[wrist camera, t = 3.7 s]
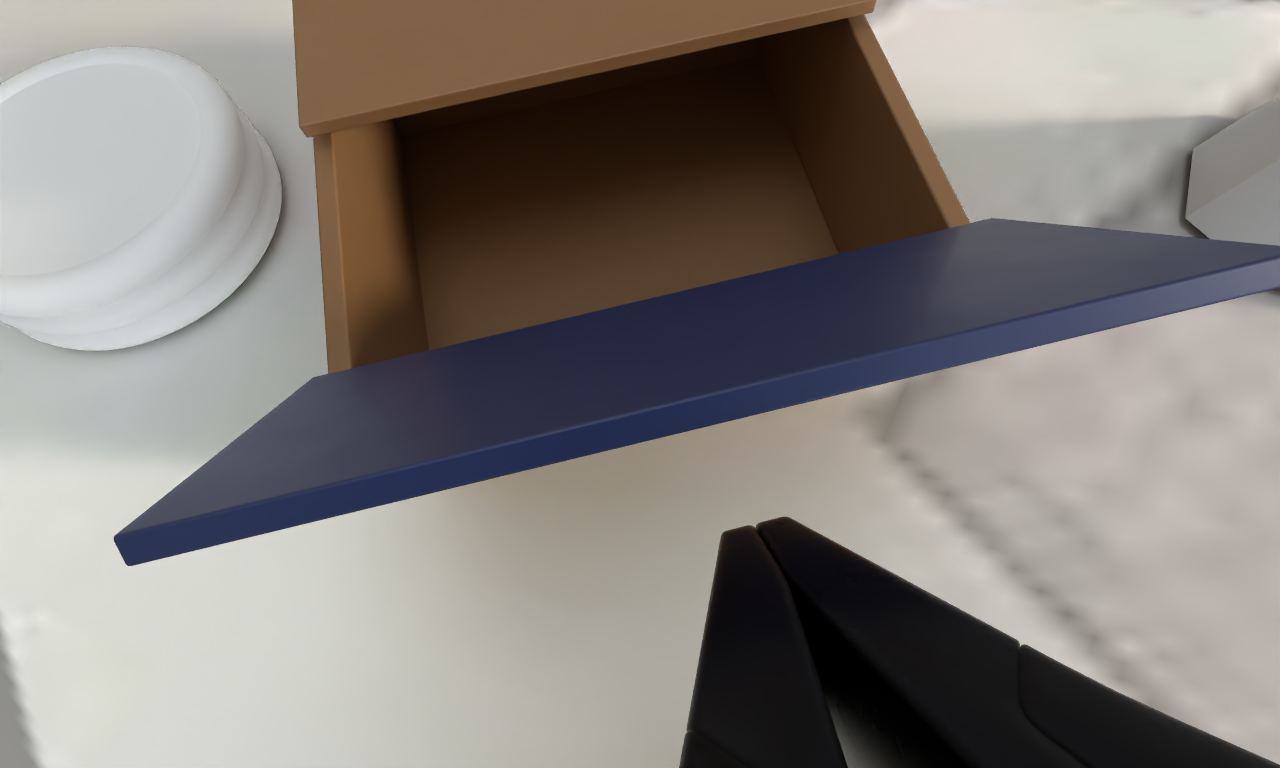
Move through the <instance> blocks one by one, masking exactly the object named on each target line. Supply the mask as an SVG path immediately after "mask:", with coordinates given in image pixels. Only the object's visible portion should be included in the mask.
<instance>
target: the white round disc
mask: <svg viewBox="0 0 1280 768" xmlns="http://www.w3.org/2000/svg"><path fill="white" fill-rule="evenodd" d="M281 203H282V185H281V179H280V174H279V170H278V167H277V164H276V162H275V159H274V156H273V153H272V151H271V149H270V148H269V146H268V144H267V143H266V141H265V139H264V138H263V137H262V136H261V135H260V134H259V132H258V131H257V130H256V129H255V128H254V127H253V126H252V125H251V123H250V121H249V120H248V118H247V116H246V115H245V114H244V113H243V112H242V111H241V109H240V108H239V107H238V106H237V105H236V104H234V103H233V101H232V99H231V98H230V96H229V94H228V92H227V91H226V90H225V89H224V87H223V86H222V85H221V84H220V83H219V82H218V80H216V79H215V78H214V77H213V76H211V75H210V74H209V73H207V72H206V71H205V70H203V69H202V68H201V67H199V66H198V65H197V64H195V63H193V62H191V61H189V60H187V59H185V58H184V57H181V56H178V55H176V54H173V53H170V52H167V51H162V50H157V49H153V48H143V47H103V48H94V49H88V50H83V51H78V52H73V53H70V54H66V55H63V56H60V57H56V58H53V59H51V60H48V61H46V62H43V63H40V64H38V65H35V66H33V67H31V68H29V69H27V70H25V71H23V72H20V73H19V74H17V75H15V76H13V77H11V78H10V79H8V80H6V81H4V82H3V83H1V84H0V321H1V322H3V323H5V324H7V325H10V326H13V327H16V328H17V329H19V330H20V331H21V332H23V333H24V334H26V335H28V336H30V337H32V338H34V339H36V340H38V341H40V342H44V343H47V344H50V345H54V346H58V347H63V348H70V349H77V350H88V351H104V350H113V349H122V348H126V347H131V346H135V345H140V344H143V343H146V342H149V341H152V340H155V339H158V338H161V337H163V336H166V335H168V334H170V333H172V332H175V331H177V330H179V329H181V328H183V327H185V326H187V325H188V324H190V323H192V322H194V321H196V320H197V319H199V318H200V317H202V316H203V315H205V314H206V313H208V312H209V311H211V310H212V309H214V308H215V307H216V306H218V305H219V304H220V303H221V302H222V301H224V300H225V299H226V298H227V297H229V296H230V295H231V294H232V293H233V292H234V291H235V290H236V289H237V288H238V287H239V286H240V285H241V284H242V283H243V282H244V281H245V279H246V278H247V277H248V276H249V274H250V273H251V272H252V271H253V269H254V268H255V267H256V266H257V264H258V262H259V261H260V259H261V258H262V256H263V255H264V253H265V252H266V250H267V248H268V246H269V243H270V241H271V239H272V237H273V235H274V232H275V229H276V226H277V223H278V220H279V215H280V209H281Z"/></svg>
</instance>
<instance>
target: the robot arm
mask: <svg viewBox="0 0 1280 768" xmlns="http://www.w3.org/2000/svg"><path fill="white" fill-rule="evenodd" d="M679 768H1280V765H1279V764H1276V763H1274V762H1272V761H1270V760H1267V759H1265V758H1263V757H1261V756H1258V755H1256V754H1254V753H1252V752H1249V751H1247V750H1245V749H1242V748H1240V747H1238V746H1236V745H1233V744H1231V743H1229V742H1227V741H1224V740H1222V739H1220V738H1218V737H1215V736H1213V735H1211V734H1209V733H1206V732H1204V731H1202V730H1199V729H1197V728H1195V727H1193V726H1190V725H1188V724H1186V723H1184V722H1181V721H1179V720H1177V719H1175V718H1173V717H1171V716H1168V715H1166V714H1164V713H1162V712H1160V711H1158V710H1155V709H1153V708H1151V707H1149V706H1147V705H1145V704H1142V703H1140V702H1138V701H1136V700H1134V699H1132V698H1129V697H1127V696H1125V695H1123V694H1121V693H1119V692H1116V691H1114V690H1112V689H1110V688H1108V687H1106V686H1104V685H1103V684H1101V683H1099V682H1097V681H1095V680H1093V679H1091V678H1089V677H1087V676H1085V675H1083V674H1081V673H1079V672H1077V671H1075V670H1073V669H1071V668H1069V667H1067V666H1065V665H1063V664H1061V663H1059V662H1058V661H1056V660H1054V659H1052V658H1050V657H1048V656H1046V655H1044V654H1043V653H1041V652H1039V651H1037V650H1035V649H1033V648H1031V647H1030V646H1028V645H1021V646H1020V644H1019V642H1018V640H1016V639H1014V638H1012V637H1010V636H1009V635H1007V634H1005V633H1003V632H1001V631H999V630H997V629H996V628H994V627H992V626H990V625H988V624H986V623H984V622H983V621H981V620H979V619H977V618H975V617H973V616H971V615H970V614H968V613H966V612H964V611H962V610H960V609H958V608H957V607H955V606H953V605H951V604H949V603H947V602H945V601H944V600H942V599H940V598H938V597H936V596H934V595H932V594H931V593H929V592H927V591H925V590H923V589H921V588H919V587H917V586H916V585H914V584H912V583H910V582H908V581H906V580H904V579H903V578H901V577H899V576H897V575H895V574H893V573H891V572H890V571H888V570H886V569H884V568H882V567H880V566H878V565H877V564H875V563H873V562H871V561H869V560H867V559H865V558H864V557H862V556H860V555H858V554H856V553H854V552H852V551H851V550H849V549H847V548H845V547H843V546H841V545H839V544H838V543H836V542H834V541H832V540H830V539H828V538H826V537H825V536H823V535H821V534H819V533H817V532H815V531H813V530H812V529H810V528H808V527H806V526H804V525H802V524H800V523H799V522H797V521H795V520H793V519H791V518H789V517H780V518H776V519H772V520H768V521H764V522H760V523H758V524H757V525H756V528H755V527H754V526H744V527H740V528H736V529H732V530H728V531H725V532H723V534H722V536H721V540H720V545H719V551H718V556H717V562H716V568H715V573H714V579H713V584H712V590H711V596H710V601H709V607H708V612H707V618H706V623H705V629H704V635H703V640H702V646H701V651H700V657H699V663H698V668H697V674H696V679H695V685H694V690H693V696H692V702H691V707H690V713H689V718H688V724H687V733H686V734H685V738H684V744H683V749H682V755H681V761H680V766H679Z"/></svg>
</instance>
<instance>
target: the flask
mask: <svg viewBox="0 0 1280 768" xmlns="http://www.w3.org/2000/svg"><path fill="white" fill-rule="evenodd" d="M1185 218H1186V219H1187V220H1188V221H1189V222H1191V223H1192V224H1193V225H1194V226H1195V227H1196V228H1198V229H1199V230H1200V231H1201V232H1202V233H1204V234H1205V235H1206V236H1207V237H1208V238H1209V239H1215V240H1225V241H1235V242H1246V243H1256V244H1267V245H1277V246H1280V96H1279V97H1277V98H1275V99H1274V100H1272V101H1270V102H1268V103H1266V104H1264V105H1262V106H1260V107H1258V108H1256V109H1255V110H1253V111H1251V112H1250V113H1248V114H1247V115H1245V116H1244V117H1242V118H1240V119H1239V120H1237V121H1236V122H1234V123H1233V124H1231V125H1230V126H1228V127H1226V128H1225V129H1223V130H1222V131H1220V132H1219V133H1217V134H1215V135H1214V136H1212V137H1211V138H1209V139H1208V140H1206V141H1204V142H1203V143H1201V144H1200V145H1198V146H1197V147H1195V148H1194V149H1193V154H1192V163H1191V172H1190V181H1189V189H1188V198H1187V207H1186V216H1185Z"/></svg>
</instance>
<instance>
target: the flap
mask: <svg viewBox="0 0 1280 768" xmlns="http://www.w3.org/2000/svg"><path fill="white" fill-rule="evenodd" d="M1276 288H1280V246H1277V245H1267V244H1256V243H1246V242H1235V241H1225V240H1215V239H1204V238H1194V237H1183V236H1173V235H1162V234H1152V233H1141V232H1131V231H1120V230H1110V229H1099V228H1089V227H1078V226H1068V225H1057V224H1047V223H1037V222H1026V221H1016V220H1005V219H995V218H991V219H987V220H982V221H978V222H974V223H969V224H965V225H961V226H957V227H952V228H948V229H944V230H940V231H935V232H931V233H927V234H923V235H918V236H914V237H910V238H906V239H901V240H897V241H893V242H888V243H884V244H880V245H876V246H871V247H867V248H863V249H859V250H854V251H850V252H846V253H842V254H837V255H833V256H829V257H825V258H820V259H816V260H812V261H807V262H803V263H799V264H795V265H790V266H786V267H782V268H778V269H773V270H769V271H765V272H761V273H756V274H752V275H748V276H744V277H739V278H735V279H731V280H727V281H722V282H718V283H714V284H709V285H705V286H701V287H697V288H692V289H688V290H684V291H680V292H675V293H671V294H667V295H663V296H658V297H654V298H650V299H646V300H641V301H637V302H633V303H628V304H624V305H620V306H616V307H611V308H607V309H603V310H599V311H594V312H590V313H586V314H582V315H577V316H573V317H569V318H565V319H560V320H556V321H552V322H547V323H543V324H539V325H535V326H530V327H526V328H522V329H518V330H513V331H509V332H505V333H501V334H496V335H492V336H488V337H484V338H479V339H475V340H471V341H466V342H462V343H458V344H454V345H449V346H445V347H441V348H437V349H432V350H428V351H424V352H420V353H415V354H411V355H407V356H403V357H398V358H394V359H390V360H385V361H381V362H377V363H373V364H368V365H364V366H360V367H356V368H351V369H347V370H343V371H339V372H334V373H330V374H326V375H322V376H317V377H313V378H312V379H311V380H310V381H308V382H307V383H306V384H305V385H303V386H302V387H301V388H300V389H298V390H297V391H296V392H294V393H293V394H292V395H291V396H289V397H288V398H287V399H286V400H284V401H283V402H282V403H281V404H279V405H278V406H277V407H276V408H274V409H273V410H272V411H271V412H269V413H268V414H267V415H266V416H264V417H263V418H262V419H261V420H259V421H258V422H257V423H256V424H254V425H253V426H252V427H251V428H249V429H248V430H247V431H246V432H244V433H243V434H242V435H241V436H239V437H238V438H237V439H236V440H234V441H233V442H232V443H231V444H229V445H228V446H227V447H226V448H224V449H223V450H222V451H221V452H219V453H218V454H217V455H215V456H214V457H213V458H212V459H210V460H209V461H208V462H207V463H205V464H204V465H203V466H202V467H200V468H199V469H198V470H197V471H195V472H194V473H193V474H192V475H190V476H189V477H188V478H187V479H185V480H184V481H183V482H182V483H180V484H179V485H178V486H177V487H175V488H174V489H173V490H172V491H170V492H169V493H168V494H167V495H165V496H164V497H163V498H162V499H160V500H159V501H158V502H157V503H155V504H154V505H153V506H152V507H150V508H149V509H148V510H147V511H145V512H144V513H143V514H142V515H140V516H139V517H138V518H136V519H135V520H134V521H133V522H131V523H130V524H129V525H128V526H126V527H125V528H124V529H123V530H121V531H120V532H119V533H118V534H116V535H115V536H114V542H115V543H116V545H117V547H118V549H119V551H120V553H121V555H122V557H123V559H124V561H125V563H126V565H128V566H133V565H137V564H141V563H145V562H149V561H153V560H158V559H162V558H166V557H170V556H174V555H178V554H182V553H186V552H191V551H195V550H199V549H203V548H207V547H211V546H215V545H219V544H224V543H228V542H232V541H236V540H240V539H244V538H248V537H252V536H257V535H261V534H265V533H269V532H273V531H277V530H281V529H285V528H290V527H294V526H298V525H302V524H306V523H310V522H314V521H319V520H323V519H327V518H331V517H335V516H339V515H343V514H347V513H352V512H356V511H360V510H364V509H368V508H372V507H376V506H380V505H385V504H389V503H393V502H397V501H401V500H405V499H409V498H413V497H418V496H422V495H426V494H430V493H434V492H438V491H442V490H447V489H451V488H455V487H459V486H463V485H467V484H471V483H475V482H480V481H484V480H488V479H492V478H496V477H500V476H504V475H508V474H513V473H517V472H521V471H525V470H529V469H533V468H537V467H541V466H546V465H550V464H554V463H558V462H562V461H566V460H570V459H574V458H579V457H583V456H587V455H591V454H595V453H599V452H603V451H608V450H612V449H616V448H620V447H624V446H628V445H632V444H636V443H641V442H645V441H649V440H653V439H657V438H661V437H665V436H669V435H674V434H678V433H682V432H686V431H690V430H694V429H698V428H702V427H707V426H711V425H715V424H719V423H723V422H727V421H731V420H735V419H740V418H744V417H748V416H752V415H756V414H760V413H764V412H769V411H773V410H777V409H781V408H785V407H789V406H793V405H797V404H802V403H806V402H810V401H814V400H818V399H822V398H826V397H830V396H835V395H839V394H843V393H847V392H851V391H855V390H859V389H863V388H868V387H872V386H876V385H880V384H884V383H888V382H892V381H897V380H901V379H905V378H909V377H913V376H917V375H921V374H925V373H930V372H934V371H938V370H942V369H946V368H950V367H954V366H958V365H963V364H967V363H971V362H975V361H979V360H983V359H987V358H991V357H996V356H1000V355H1004V354H1008V353H1012V352H1016V351H1020V350H1024V349H1029V348H1033V347H1037V346H1041V345H1045V344H1049V343H1053V342H1058V341H1062V340H1066V339H1070V338H1074V337H1078V336H1082V335H1086V334H1091V333H1095V332H1099V331H1103V330H1107V329H1111V328H1115V327H1119V326H1124V325H1128V324H1132V323H1136V322H1140V321H1144V320H1148V319H1152V318H1157V317H1161V316H1165V315H1169V314H1173V313H1177V312H1181V311H1185V310H1190V309H1194V308H1198V307H1202V306H1206V305H1210V304H1214V303H1219V302H1223V301H1227V300H1231V299H1235V298H1239V297H1243V296H1247V295H1252V294H1256V293H1260V292H1264V291H1268V290H1272V289H1276Z"/></svg>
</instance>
